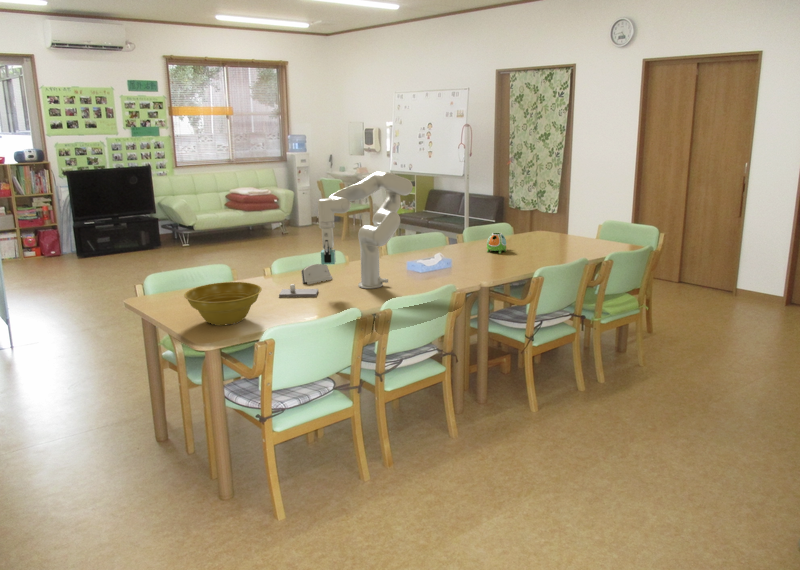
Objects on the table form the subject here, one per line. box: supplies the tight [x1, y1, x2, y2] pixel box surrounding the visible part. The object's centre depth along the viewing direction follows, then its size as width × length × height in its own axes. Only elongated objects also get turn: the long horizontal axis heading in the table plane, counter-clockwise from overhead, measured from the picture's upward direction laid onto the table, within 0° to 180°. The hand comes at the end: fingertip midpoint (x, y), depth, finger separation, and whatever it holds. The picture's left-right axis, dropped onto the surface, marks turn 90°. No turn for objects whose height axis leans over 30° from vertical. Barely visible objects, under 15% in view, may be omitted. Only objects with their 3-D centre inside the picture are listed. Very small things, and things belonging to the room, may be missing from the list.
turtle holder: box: [486, 232, 507, 254], centre depth 421 cm, size 12×18×12 cm
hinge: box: [300, 263, 334, 285], centre depth 350 cm, size 17×5×10 cm, turn 132°
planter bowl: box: [183, 281, 263, 326], centre depth 282 cm, size 32×32×13 cm
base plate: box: [278, 283, 319, 298], centre depth 324 cm, size 18×10×5 cm, turn 91°
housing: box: [320, 248, 337, 265], centre depth 320 cm, size 6×6×6 cm
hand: (328, 260), depth 320 cm, fingers closed on housing, 6 cm apart
